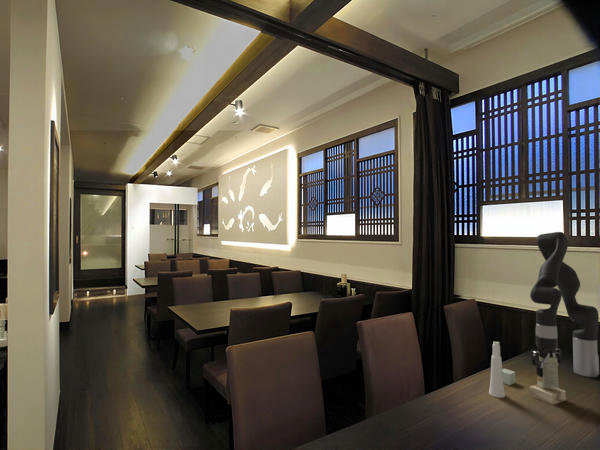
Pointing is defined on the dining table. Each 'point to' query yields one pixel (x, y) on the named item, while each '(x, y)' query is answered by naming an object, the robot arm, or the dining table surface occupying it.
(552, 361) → the skincare box
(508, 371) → the greygreen block
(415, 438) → the dining table surface
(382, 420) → the dining table surface
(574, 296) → the robot arm
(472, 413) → the dining table surface
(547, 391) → the maple block
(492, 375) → the cosmetic bottle
